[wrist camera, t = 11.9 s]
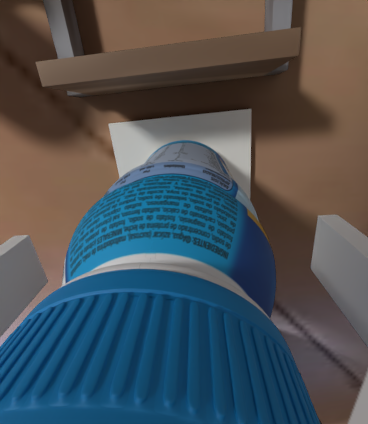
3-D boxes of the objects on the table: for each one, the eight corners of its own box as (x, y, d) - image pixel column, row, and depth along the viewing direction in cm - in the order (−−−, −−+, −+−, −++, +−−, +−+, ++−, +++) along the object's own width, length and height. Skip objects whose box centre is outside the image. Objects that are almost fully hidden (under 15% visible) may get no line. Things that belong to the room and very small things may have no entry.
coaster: (110, 123, 20) (108, 123, 20) (249, 108, 19) (251, 108, 19) (135, 242, 25) (133, 244, 24) (248, 235, 24) (249, 238, 23)
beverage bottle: (182, 115, 19) (-146, 150, 1) (250, 182, 21) (610, 643, 3) (122, 187, 22) (-263, 566, 4) (188, 240, 24) (159, 668, 5)
